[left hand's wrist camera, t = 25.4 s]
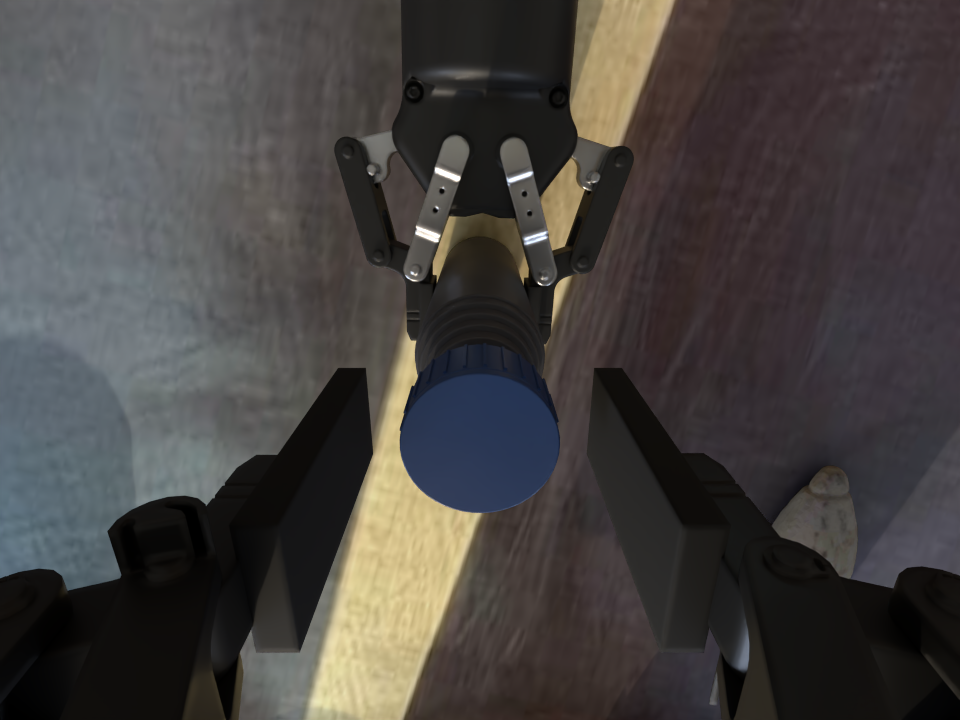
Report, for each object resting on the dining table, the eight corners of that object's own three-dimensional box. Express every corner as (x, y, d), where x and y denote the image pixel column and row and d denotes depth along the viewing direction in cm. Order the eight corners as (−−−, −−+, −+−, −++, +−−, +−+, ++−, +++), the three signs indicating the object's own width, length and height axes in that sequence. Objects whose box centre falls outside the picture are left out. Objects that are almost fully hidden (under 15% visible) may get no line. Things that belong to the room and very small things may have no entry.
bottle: (427, 270, 32) (351, 423, 13) (484, 220, 31) (490, 309, 12) (475, 324, 34) (470, 535, 15) (531, 278, 33) (606, 441, 13)
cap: (378, 400, 14) (362, 437, 13) (490, 311, 14) (491, 336, 12) (470, 493, 16) (469, 540, 14) (579, 417, 15) (594, 456, 13)
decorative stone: (861, 457, 37) (897, 485, 34) (810, 617, 43) (837, 654, 39) (777, 457, 37) (805, 484, 34) (737, 617, 43) (758, 654, 39)
